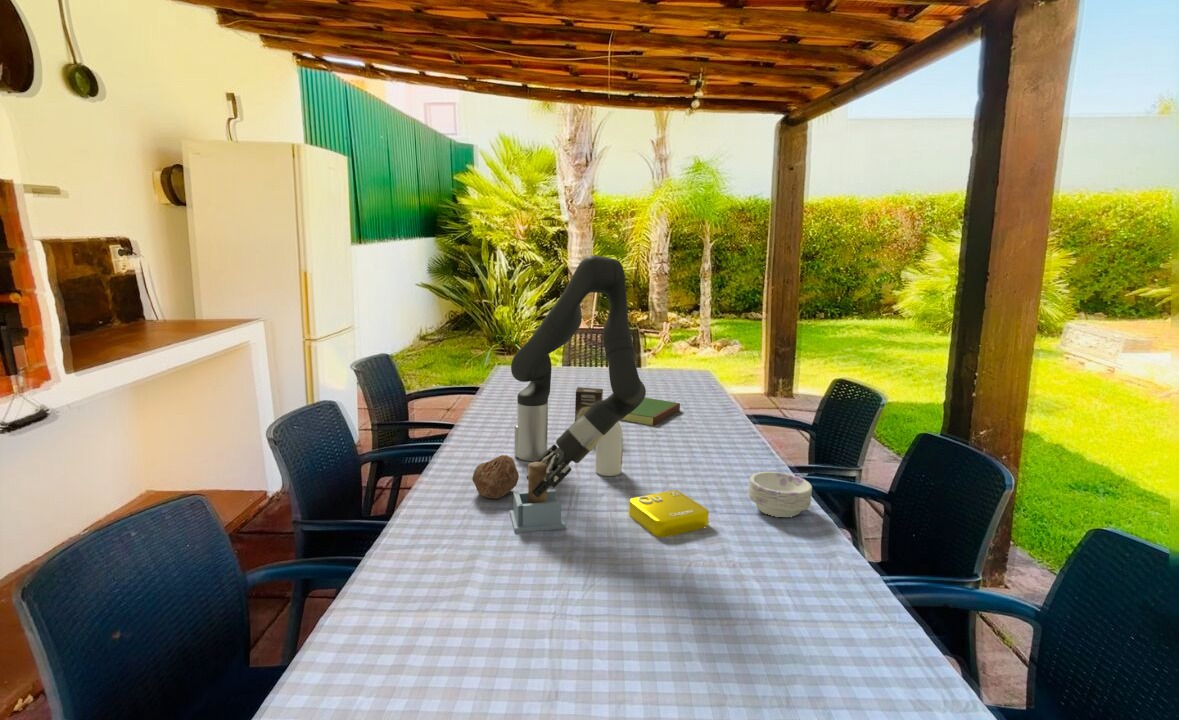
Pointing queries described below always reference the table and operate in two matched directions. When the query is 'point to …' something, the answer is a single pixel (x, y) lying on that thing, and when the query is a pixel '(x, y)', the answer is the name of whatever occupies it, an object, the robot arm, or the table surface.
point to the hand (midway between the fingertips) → (531, 487)
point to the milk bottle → (610, 452)
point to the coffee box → (586, 399)
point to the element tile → (668, 513)
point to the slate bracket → (536, 513)
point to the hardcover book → (652, 411)
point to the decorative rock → (496, 477)
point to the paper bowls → (780, 493)
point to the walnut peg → (536, 481)
